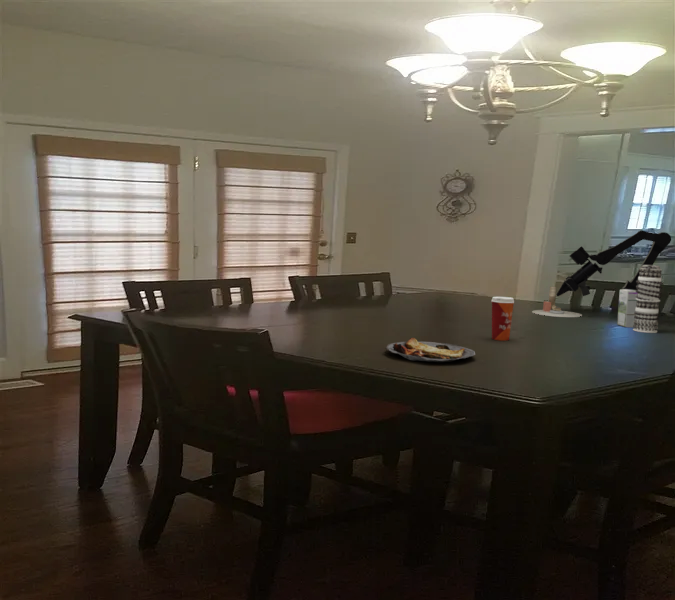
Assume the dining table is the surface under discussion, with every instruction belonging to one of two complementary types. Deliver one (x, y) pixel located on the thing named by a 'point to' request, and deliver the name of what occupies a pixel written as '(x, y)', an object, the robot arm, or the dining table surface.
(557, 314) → the dial plate
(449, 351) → the food plate
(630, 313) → the syrup box
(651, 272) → the decorative candle
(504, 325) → the paper cup
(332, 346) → the dining table surface
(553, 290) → the crank
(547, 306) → the stop block
